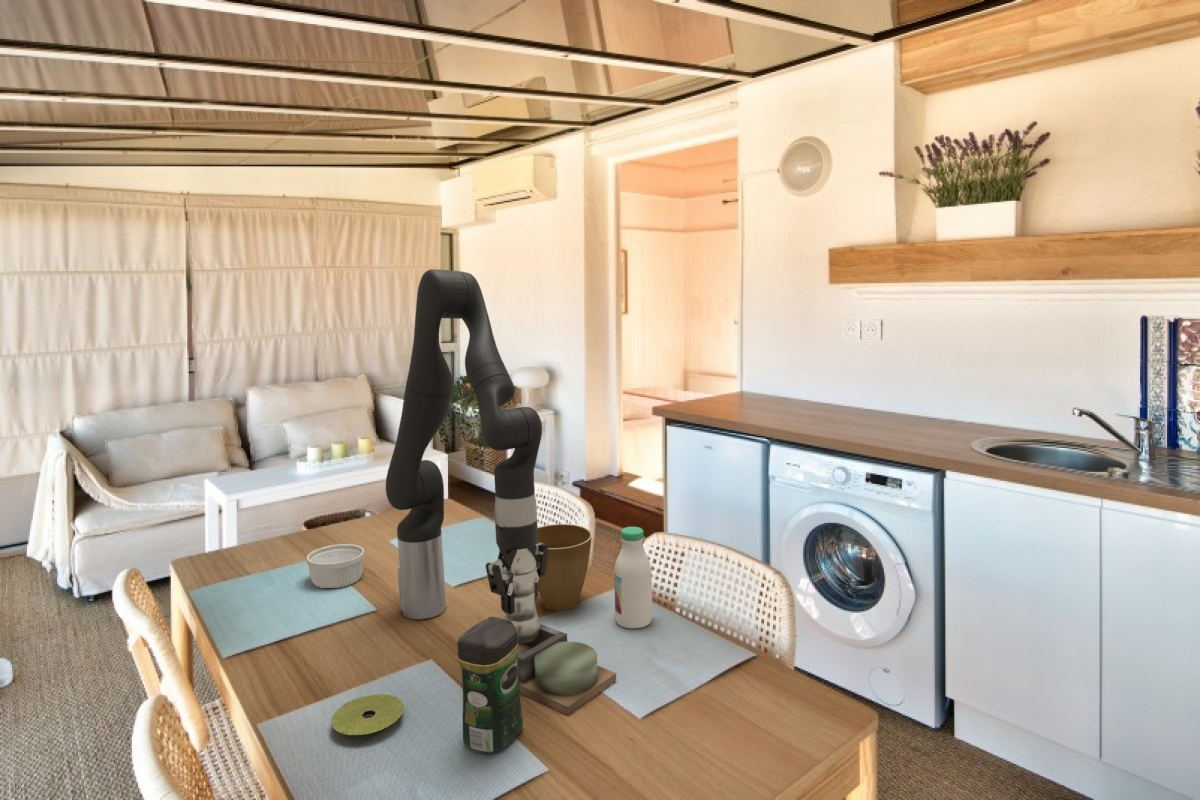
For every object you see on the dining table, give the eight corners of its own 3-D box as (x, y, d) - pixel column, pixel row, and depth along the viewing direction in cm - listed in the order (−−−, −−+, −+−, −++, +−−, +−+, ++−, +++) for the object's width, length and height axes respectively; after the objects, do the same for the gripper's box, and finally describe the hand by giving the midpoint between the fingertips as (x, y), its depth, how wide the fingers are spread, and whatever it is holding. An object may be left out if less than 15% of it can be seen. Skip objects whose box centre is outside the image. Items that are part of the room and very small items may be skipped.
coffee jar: (488, 714, 119) (483, 608, 116) (530, 725, 116) (525, 617, 113) (453, 748, 110) (446, 635, 107) (497, 762, 107) (491, 645, 104)
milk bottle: (657, 616, 153) (656, 526, 149) (644, 632, 146) (642, 538, 142) (623, 610, 156) (622, 521, 153) (609, 625, 149) (607, 533, 146)
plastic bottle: (534, 649, 129) (530, 543, 126) (498, 646, 130) (493, 541, 127) (544, 632, 135) (540, 530, 132) (509, 630, 137) (505, 529, 133)
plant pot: (530, 590, 167) (528, 524, 165) (594, 589, 167) (593, 523, 164) (522, 619, 152) (519, 547, 150) (592, 619, 152) (590, 547, 149)
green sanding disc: (355, 755, 109) (354, 743, 109) (319, 726, 117) (318, 715, 116) (418, 721, 117) (417, 710, 117) (380, 696, 125) (380, 686, 125)
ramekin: (377, 576, 177) (375, 549, 176) (332, 596, 166) (330, 567, 165) (342, 566, 184) (340, 540, 183) (297, 584, 173) (294, 557, 172)
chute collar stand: (470, 669, 133) (468, 639, 132) (520, 641, 143) (519, 613, 142) (568, 715, 118) (567, 681, 117) (616, 680, 128) (615, 649, 127)
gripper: (528, 504, 137) (532, 588, 140) (471, 525, 126) (476, 616, 129) (558, 511, 132) (561, 598, 135) (501, 533, 121) (506, 627, 124)
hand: (520, 606), depth 132 cm, fingers closed on plastic bottle, 5 cm apart
